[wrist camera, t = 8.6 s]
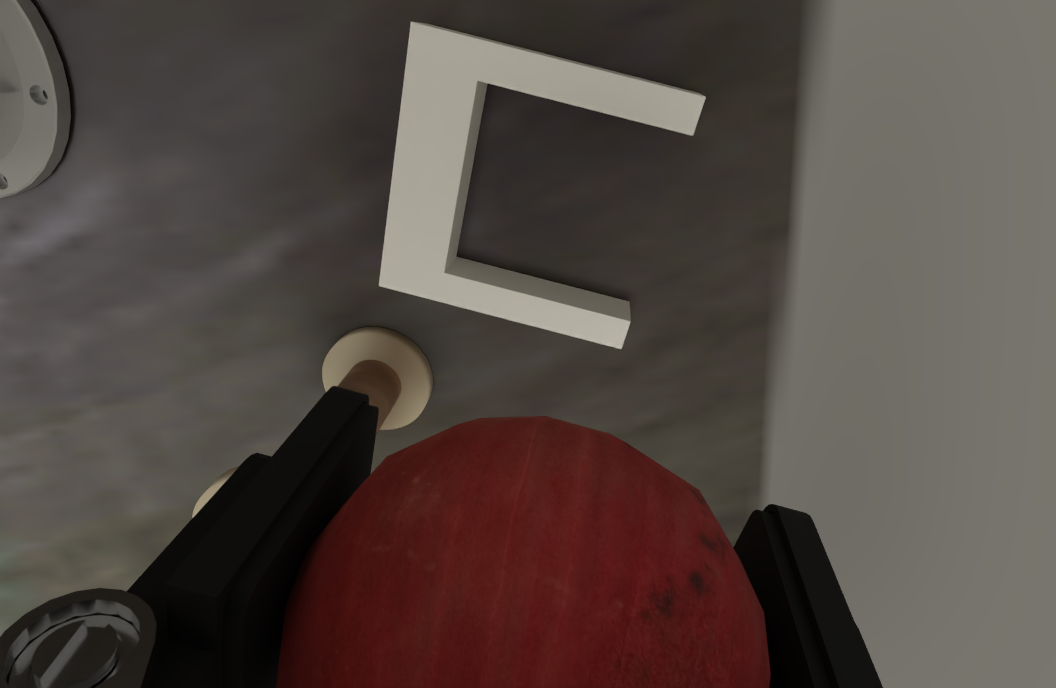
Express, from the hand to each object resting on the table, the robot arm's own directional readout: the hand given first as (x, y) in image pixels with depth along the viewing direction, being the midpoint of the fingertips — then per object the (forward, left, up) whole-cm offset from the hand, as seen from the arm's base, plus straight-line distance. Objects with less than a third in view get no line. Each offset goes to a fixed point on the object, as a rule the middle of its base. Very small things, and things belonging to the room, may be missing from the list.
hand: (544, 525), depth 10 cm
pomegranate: (0, 0, -2) cm, 2 cm away
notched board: (-3, 0, -22) cm, 22 cm away
